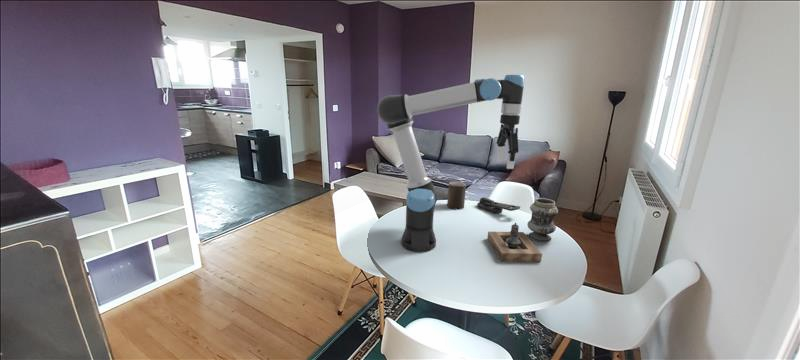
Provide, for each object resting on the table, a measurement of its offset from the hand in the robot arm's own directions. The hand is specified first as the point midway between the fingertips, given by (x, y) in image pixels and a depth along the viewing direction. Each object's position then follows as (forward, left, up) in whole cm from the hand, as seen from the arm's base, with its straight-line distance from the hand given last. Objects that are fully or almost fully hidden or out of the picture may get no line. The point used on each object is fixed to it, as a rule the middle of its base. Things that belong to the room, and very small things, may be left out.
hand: (504, 164), depth 141 cm
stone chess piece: (+4, -10, -35) cm, 36 cm away
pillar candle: (-11, +41, -35) cm, 55 cm away
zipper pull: (+10, +33, -35) cm, 49 cm away
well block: (+4, -10, -35) cm, 36 cm away
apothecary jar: (+21, +2, -35) cm, 41 cm away
